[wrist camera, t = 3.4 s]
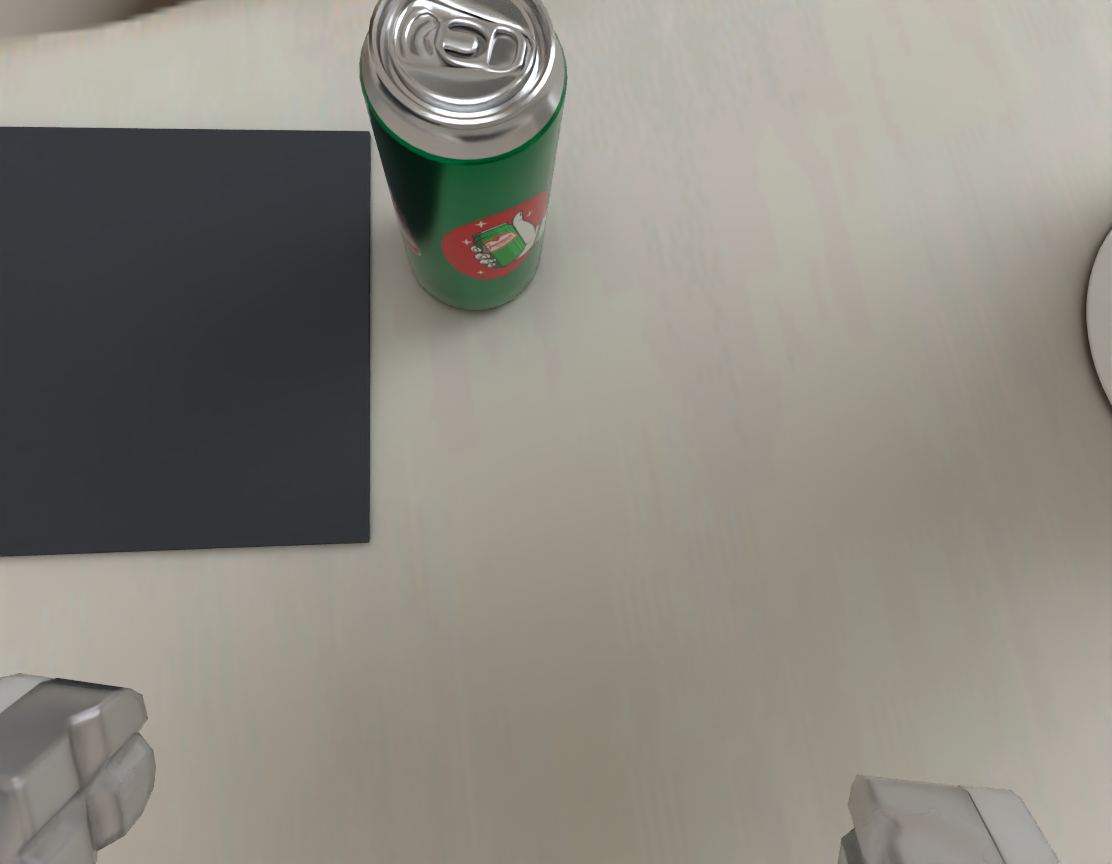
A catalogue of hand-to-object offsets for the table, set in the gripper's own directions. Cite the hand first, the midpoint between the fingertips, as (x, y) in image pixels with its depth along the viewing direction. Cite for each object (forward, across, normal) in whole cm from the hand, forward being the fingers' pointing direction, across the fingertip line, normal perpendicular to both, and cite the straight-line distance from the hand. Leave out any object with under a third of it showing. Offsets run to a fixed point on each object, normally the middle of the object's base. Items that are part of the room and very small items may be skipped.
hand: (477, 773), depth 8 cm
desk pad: (+18, +19, -1) cm, 26 cm away
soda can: (+22, +6, -4) cm, 23 cm away
